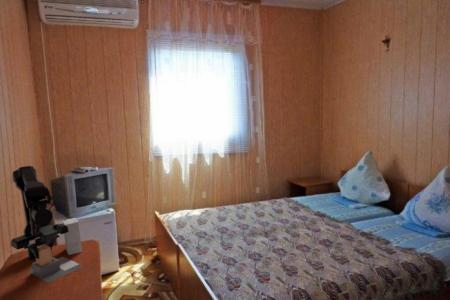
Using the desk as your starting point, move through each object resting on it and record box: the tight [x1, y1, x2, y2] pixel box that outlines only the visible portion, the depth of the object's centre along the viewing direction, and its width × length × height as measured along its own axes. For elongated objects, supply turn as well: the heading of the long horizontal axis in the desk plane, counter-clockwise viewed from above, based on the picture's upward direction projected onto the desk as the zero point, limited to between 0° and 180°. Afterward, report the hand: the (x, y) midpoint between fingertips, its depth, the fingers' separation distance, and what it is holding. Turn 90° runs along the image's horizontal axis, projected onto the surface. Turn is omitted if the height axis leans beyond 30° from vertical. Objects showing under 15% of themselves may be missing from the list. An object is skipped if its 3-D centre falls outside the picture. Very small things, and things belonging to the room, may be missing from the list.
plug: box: [35, 244, 53, 266], centre depth 120 cm, size 4×4×9 cm
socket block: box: [27, 256, 84, 284], centre depth 123 cm, size 16×14×5 cm
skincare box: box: [62, 217, 83, 256], centre depth 138 cm, size 8×6×15 cm
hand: (43, 256), depth 120 cm, fingers closed on plug, 4 cm apart
